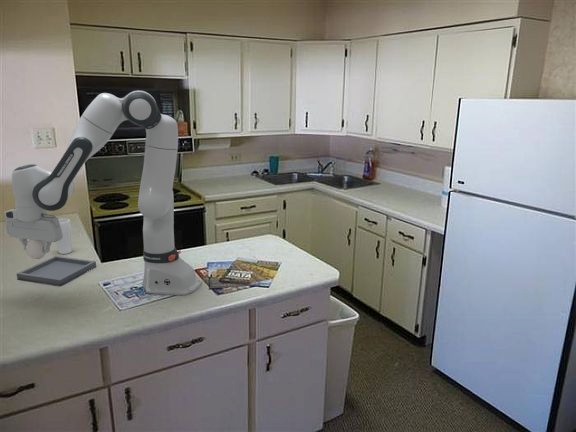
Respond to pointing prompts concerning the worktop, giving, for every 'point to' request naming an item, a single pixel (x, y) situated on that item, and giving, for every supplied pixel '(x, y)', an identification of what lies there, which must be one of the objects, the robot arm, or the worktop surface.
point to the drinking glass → (65, 237)
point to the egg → (35, 249)
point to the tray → (56, 270)
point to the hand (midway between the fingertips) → (37, 250)
